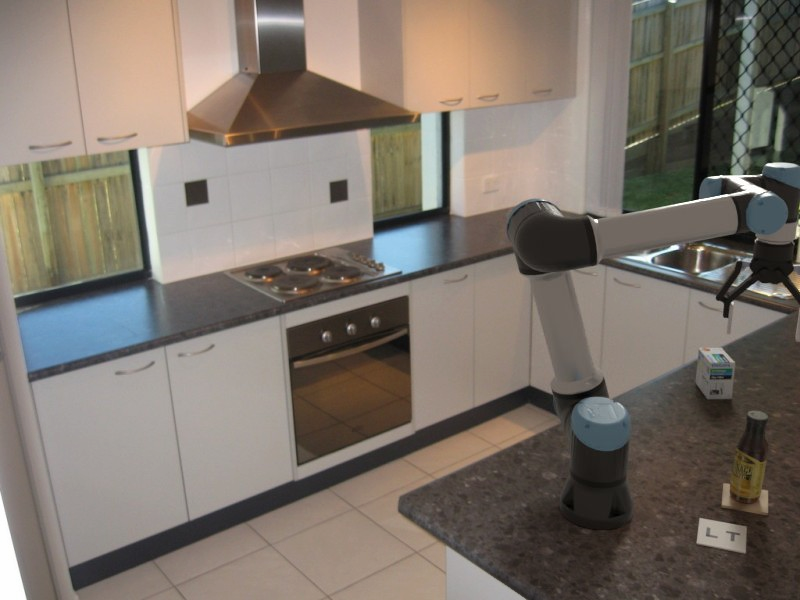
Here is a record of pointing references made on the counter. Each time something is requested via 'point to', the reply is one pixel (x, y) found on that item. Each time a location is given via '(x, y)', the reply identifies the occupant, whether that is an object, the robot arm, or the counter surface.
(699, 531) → the tile
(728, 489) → the coaster
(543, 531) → the counter surface
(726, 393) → the light bulb box
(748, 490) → the sauce bottle
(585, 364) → the robot arm
